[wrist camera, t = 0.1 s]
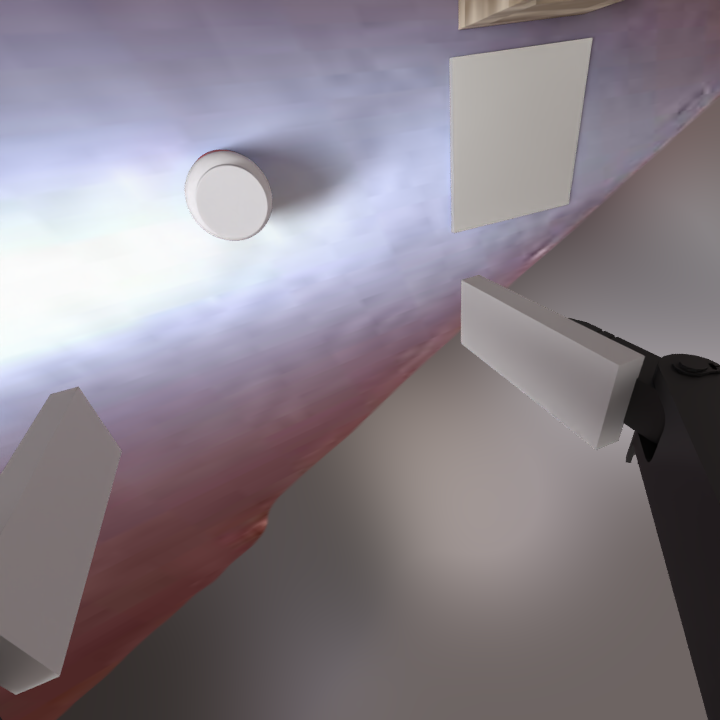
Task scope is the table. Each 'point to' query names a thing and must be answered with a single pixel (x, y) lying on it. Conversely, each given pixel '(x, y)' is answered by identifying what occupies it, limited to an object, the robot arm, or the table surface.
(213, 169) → the pill bottle
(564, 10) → the box
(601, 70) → the table surface
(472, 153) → the mat
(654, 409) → the robot arm
